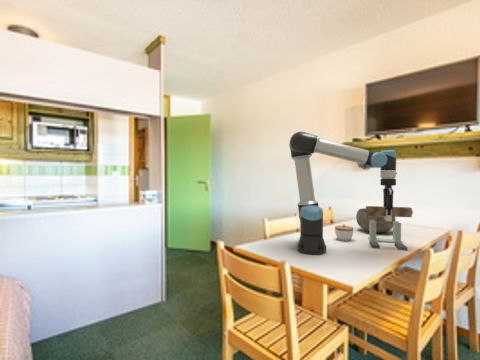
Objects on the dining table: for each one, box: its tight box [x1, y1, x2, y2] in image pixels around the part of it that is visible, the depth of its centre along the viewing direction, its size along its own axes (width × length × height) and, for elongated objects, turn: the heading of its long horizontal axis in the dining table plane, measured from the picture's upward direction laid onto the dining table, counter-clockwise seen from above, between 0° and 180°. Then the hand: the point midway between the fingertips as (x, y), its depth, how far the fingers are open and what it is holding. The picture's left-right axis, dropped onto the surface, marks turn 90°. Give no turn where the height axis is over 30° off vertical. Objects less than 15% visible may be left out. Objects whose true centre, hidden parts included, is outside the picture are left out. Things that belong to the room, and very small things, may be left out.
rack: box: [367, 220, 403, 244], centre depth 160 cm, size 17×6×12 cm, turn 72°
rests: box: [368, 240, 408, 251], centre depth 149 cm, size 17×9×2 cm, turn 72°
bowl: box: [355, 207, 396, 234], centre depth 185 cm, size 24×24×15 cm
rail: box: [365, 205, 414, 218], centre depth 148 cm, size 23×4×5 cm, turn 72°
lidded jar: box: [334, 224, 354, 242], centre depth 165 cm, size 11×11×9 cm
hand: (387, 220), depth 148 cm, fingers closed on rail, 3 cm apart
